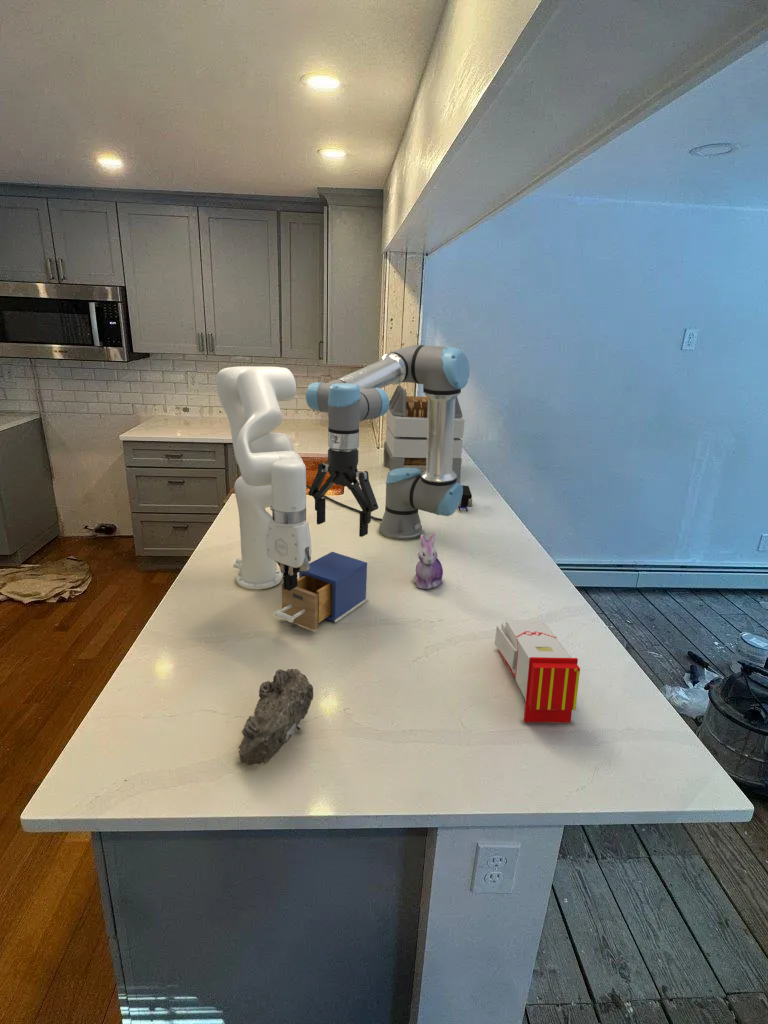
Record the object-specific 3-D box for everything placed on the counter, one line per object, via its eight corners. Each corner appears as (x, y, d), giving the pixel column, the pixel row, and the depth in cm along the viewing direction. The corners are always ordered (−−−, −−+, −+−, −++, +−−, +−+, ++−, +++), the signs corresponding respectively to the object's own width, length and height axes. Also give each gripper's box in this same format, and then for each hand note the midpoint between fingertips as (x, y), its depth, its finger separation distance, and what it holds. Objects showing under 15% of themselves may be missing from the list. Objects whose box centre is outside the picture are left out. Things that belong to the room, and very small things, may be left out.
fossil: (254, 669, 115) (309, 637, 110) (285, 700, 118) (340, 670, 113) (215, 759, 96) (280, 724, 91) (253, 792, 99) (319, 761, 94)
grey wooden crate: (382, 463, 289) (386, 382, 275) (445, 464, 293) (451, 384, 279) (390, 482, 257) (394, 392, 243) (460, 483, 261) (468, 394, 247)
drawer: (299, 641, 132) (299, 605, 129) (266, 627, 137) (265, 592, 134) (345, 610, 146) (345, 577, 143) (313, 598, 151) (313, 566, 148)
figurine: (423, 593, 159) (426, 543, 153) (405, 577, 167) (408, 530, 162) (451, 587, 163) (455, 538, 158) (432, 572, 171) (436, 526, 166)
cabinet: (335, 622, 142) (335, 581, 138) (299, 608, 148) (298, 568, 144) (366, 601, 153) (367, 562, 149) (331, 588, 159) (332, 551, 155)
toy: (541, 605, 135) (589, 664, 106) (536, 657, 138) (581, 729, 108) (490, 604, 135) (524, 663, 105) (486, 656, 137) (518, 728, 108)
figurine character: (472, 516, 224) (466, 500, 237) (474, 499, 220) (469, 483, 234) (455, 515, 224) (451, 499, 237) (457, 498, 220) (452, 483, 234)
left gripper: (252, 511, 128) (255, 584, 134) (304, 527, 120) (304, 603, 126) (275, 503, 134) (277, 573, 140) (326, 517, 126) (325, 591, 132)
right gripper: (294, 443, 142) (295, 522, 149) (377, 460, 130) (374, 545, 137) (313, 438, 148) (313, 514, 155) (394, 454, 136) (390, 536, 143)
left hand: (290, 587), depth 133 cm, fingers closed
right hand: (341, 529), depth 146 cm, fingers open, 13 cm apart
